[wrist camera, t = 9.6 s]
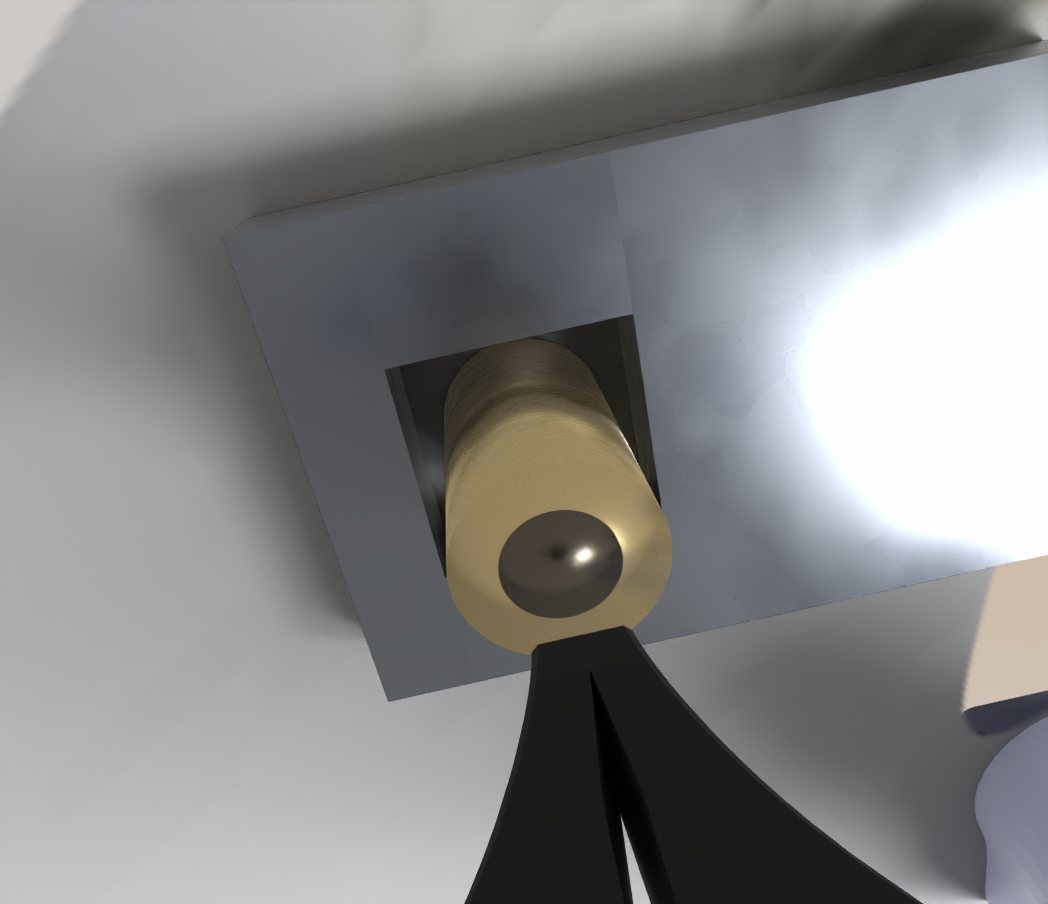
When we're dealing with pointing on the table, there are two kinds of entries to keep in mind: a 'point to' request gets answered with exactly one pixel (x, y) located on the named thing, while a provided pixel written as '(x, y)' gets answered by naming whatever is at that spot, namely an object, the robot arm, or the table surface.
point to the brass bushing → (545, 502)
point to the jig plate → (701, 345)
